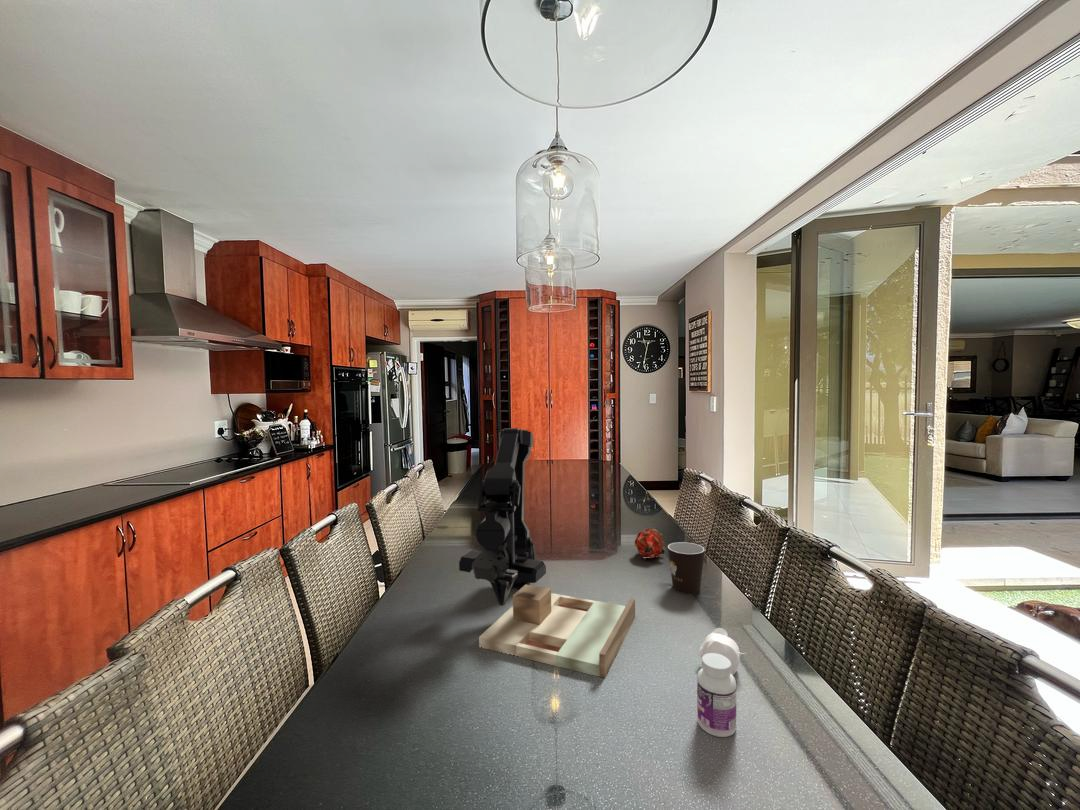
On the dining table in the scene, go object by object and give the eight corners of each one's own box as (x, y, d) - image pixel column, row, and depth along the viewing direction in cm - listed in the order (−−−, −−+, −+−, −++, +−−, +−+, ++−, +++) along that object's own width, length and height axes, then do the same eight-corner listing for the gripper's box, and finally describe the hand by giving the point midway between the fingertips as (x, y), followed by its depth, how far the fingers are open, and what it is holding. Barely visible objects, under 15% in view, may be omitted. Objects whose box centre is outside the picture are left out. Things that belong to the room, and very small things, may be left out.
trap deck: (479, 647, 89) (478, 626, 89) (530, 597, 110) (530, 580, 110) (605, 678, 79) (604, 654, 79) (635, 616, 100) (635, 598, 100)
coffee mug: (707, 597, 109) (707, 555, 108) (669, 594, 110) (668, 553, 110) (700, 577, 120) (700, 539, 120) (666, 575, 122) (665, 537, 122)
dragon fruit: (654, 554, 142) (651, 574, 131) (630, 537, 143) (626, 556, 132) (670, 534, 139) (669, 553, 128) (647, 517, 141) (643, 534, 129)
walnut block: (513, 619, 96) (512, 595, 95) (526, 607, 101) (525, 584, 101) (539, 625, 93) (539, 600, 93) (551, 611, 99) (551, 588, 98)
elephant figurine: (700, 653, 86) (699, 621, 86) (747, 663, 82) (747, 630, 82) (695, 673, 80) (695, 639, 80) (746, 685, 76) (746, 650, 76)
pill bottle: (691, 713, 70) (690, 651, 70) (725, 711, 70) (724, 648, 70) (707, 740, 64) (706, 672, 64) (743, 737, 65) (743, 670, 65)
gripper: (442, 539, 96) (444, 613, 97) (522, 550, 88) (524, 631, 89) (471, 524, 106) (473, 592, 107) (546, 534, 98) (547, 606, 99)
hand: (502, 604), depth 100 cm, fingers closed
